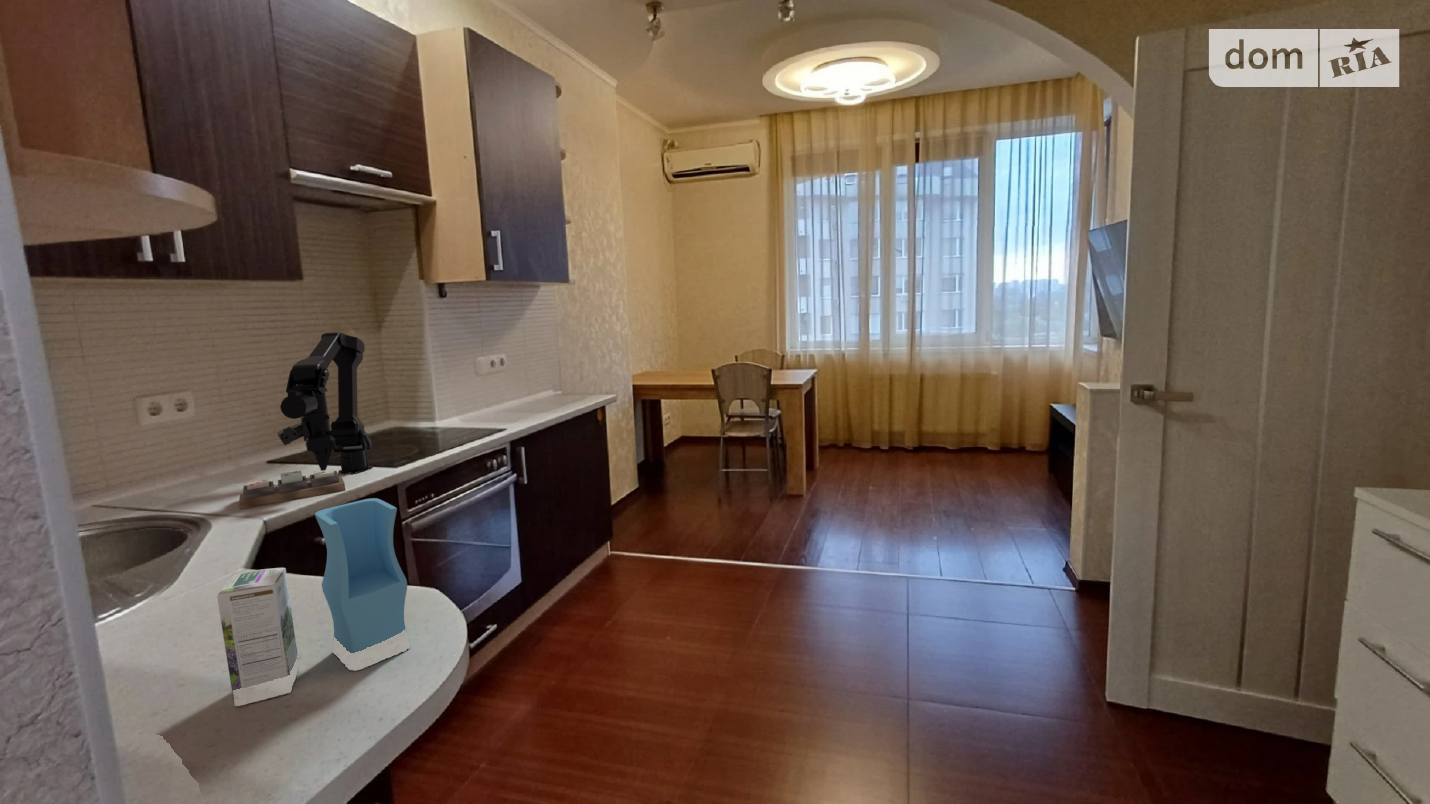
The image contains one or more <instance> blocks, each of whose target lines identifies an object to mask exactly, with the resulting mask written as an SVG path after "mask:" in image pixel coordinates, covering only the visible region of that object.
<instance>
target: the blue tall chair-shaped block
mask: <svg viewBox="0 0 1430 804" xmlns="http://www.w3.org/2000/svg"><path fill="white" fill-rule="evenodd" d="M397 511H398V509H397V507H395V506H394V505H392V504H390V503H389V502H386V501H385V500H382V499H380V498H377V497H376V498H375V497H373V498H365V499H361V500H357V501H353V502H352V501H351V502H349V503H345V504H340V505H335V506H331V507H327V508H323V509H321V510H318V511H316V512H314V516H315V519H316V521H317V524H318V525H319V527H320V530H321V532H322V535H323V539H324V541H325V546H326V552H327V553H326V564H325V570H324V575H323V577H322V582H321V589H322V593H323V595H324V597H325V600H326V603H327V605H328V607H329V610H330V613H331V617H332V621H333V622H332V623H333V638H334V637H335V638H336V639H337V641H339V642H340V644H342V645H343V647H345V648H346V650H347V651H349V652H350V653H355V652H358V651H362V650H364V649H366V648H367V647H371V646H373V645H375V644H378V643H381V642H382V641H385V640H387V639H389V638H391V637H393V636H395V635H397V634H399V633H401V632H402V631H403V630H405V629H406V630H407V628H406V622H405V605H406V604H405V603H406V597H407V590H408V580H407V578H406V576H405V574H404V572H403V570H402V568H401V566H400V564H399V561H398V558H397V556H396V552H395V547H394V528H395V527H394V526H395V521H396V516H397Z"/></svg>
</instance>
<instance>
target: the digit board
mask: <svg viewBox="0 0 1430 804" xmlns="http://www.w3.org/2000/svg"><path fill="white" fill-rule="evenodd" d="M333 471H334V474H335V475H334V476H328V477H322V478H316V479H314V473H313V474H309V477H310V478H309V479H310V480H309V481H307V477H306V475H302V479H303V481H298V482H292V483H286V484H282V482H281V479H277V486H274V480H272V481H270V480H269V485H270V486H268V487H262V488H256V489H250V490H247V484H246V485H243V488H242V489H243V490H242V492H240V493H239V499H238V504H239V509H240V510H245V509H250V508H256V507H261V506H266V505H272V504H277V503H284V502H288V501H294V500H300V499H305V498H310V497H317V496H321V495H326V494H333V493H337V492H343V491H346V483H345V481H344V479H343V477H342V475H339V474H338V473H339V472H337V471H338V470H333Z"/></svg>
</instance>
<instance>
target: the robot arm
mask: <svg viewBox="0 0 1430 804" xmlns="http://www.w3.org/2000/svg"><path fill="white" fill-rule="evenodd" d="M320 338H321V339H320V341H319V342H318V343H317V344H316V346H315V347H314V348H313V350H312V352H311V353H310V354H309V355H308V356H307V358H303V359H300V360H299V361H298V362H296V363H295V364H294V365H293V366H292V367H291V369H290V371H289V376H288V379H287V383H286V389H285V392H286V393H287V396H286V397H284V398H283V399H282V401H281V403H280V410H281V413H282V415H284V416H285V417H287V418H288V419H292V420H293V419H294V420H295V419H296V420H297V419H300V422H297V423H296V424H295V423H294V424H293V425H291V426H290V425H289V426H287V427H286V428H282V430H280V431H278V432H277V436H278V438H279V440H281V441H280V442H282V444H283V446H287V445H290V444H291V443H292V442H294V441H297V440H298V439H301V438H302V439H303V442H305V447H306V452H311V453H313V454H314V457H315V459H316V461H317V464H318V467H319V469H320V471H324V470H327V467H328V464H329V461H330V458H331V455H332V452H334V454H335V453H336V454H337V453H339V454H340V455H339V456H340V457H339V461H340V468H341V469H340V470H337V471H338V472H337V473H342V474H343V473H344V474H358V473H361V472H363V471H367V470H369V469H372V468H374V466H373V465H369V461H368V460H369V459H368V452H367V450H371V449H372V446H373V445H372V439H371V437H370V436H369V435H368V433H367V432H366V430H365V425H364V423H363V422H362V420H361V418H359V415H358V371H357V370H358V368H359V366H360V365H361V363H362V362H363V359H364V352H365V350H366V349H365V348H366V347H365V343H364V342H363V340H361V339H360V338H359V337H357V336H353V335H349V334H345V333H344V332H340V331H335V332H333V331H332V332H331V331H330V332H324V333H322V334H321V337H320ZM332 361H333V362H334V364H335V365H336V367H337V393H338V394H337V399H338V400H337V402H338V403H337V406H338V407H337V408H338V409H337V410H338V411H337V412H338V414H337V418H336V419H335V420H334V421H331V424H330V415H329V410H328V403H327V395H326V393H328V388H326V386H327V383H328V380H329V377H330V371H329V369H328V368H329V366H330V364H331V363H332Z"/></svg>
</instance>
